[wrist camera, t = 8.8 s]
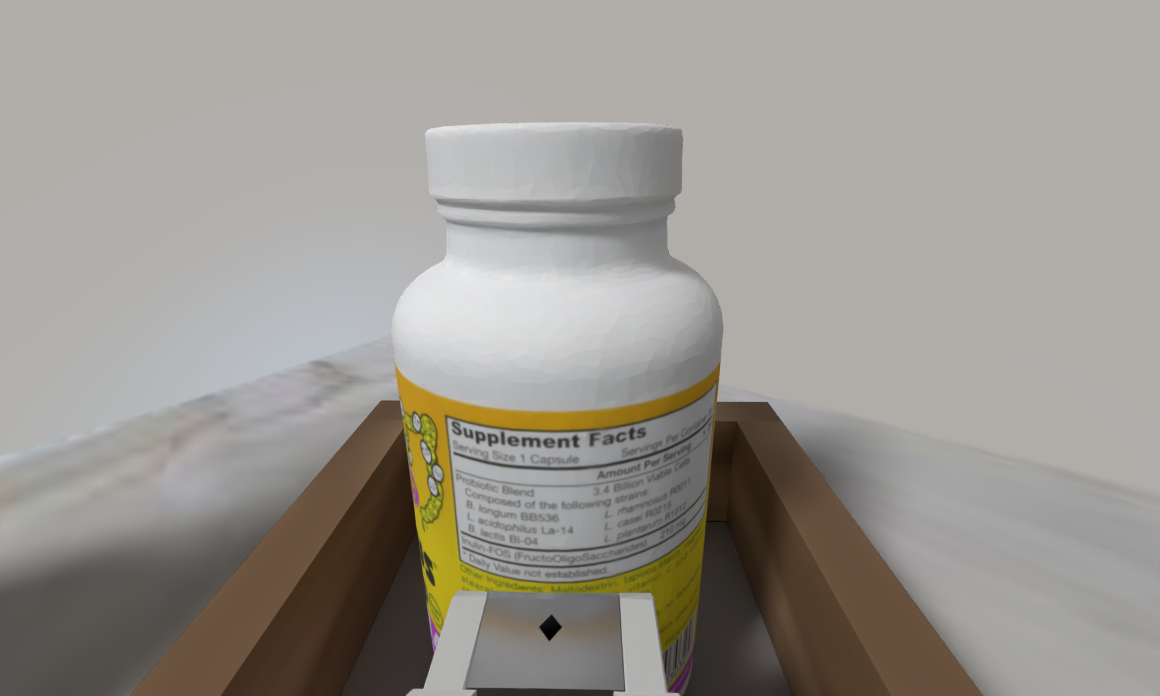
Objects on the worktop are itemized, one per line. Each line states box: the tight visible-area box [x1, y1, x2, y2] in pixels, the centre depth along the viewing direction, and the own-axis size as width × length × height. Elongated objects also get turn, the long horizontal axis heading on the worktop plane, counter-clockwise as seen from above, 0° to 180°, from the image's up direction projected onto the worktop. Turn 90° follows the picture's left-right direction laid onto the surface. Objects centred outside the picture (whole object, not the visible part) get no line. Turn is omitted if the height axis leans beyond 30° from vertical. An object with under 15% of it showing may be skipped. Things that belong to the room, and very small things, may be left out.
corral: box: [130, 401, 983, 696], centre depth 14 cm, size 14×12×4 cm
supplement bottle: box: [392, 122, 723, 696], centre depth 12 cm, size 7×7×13 cm
